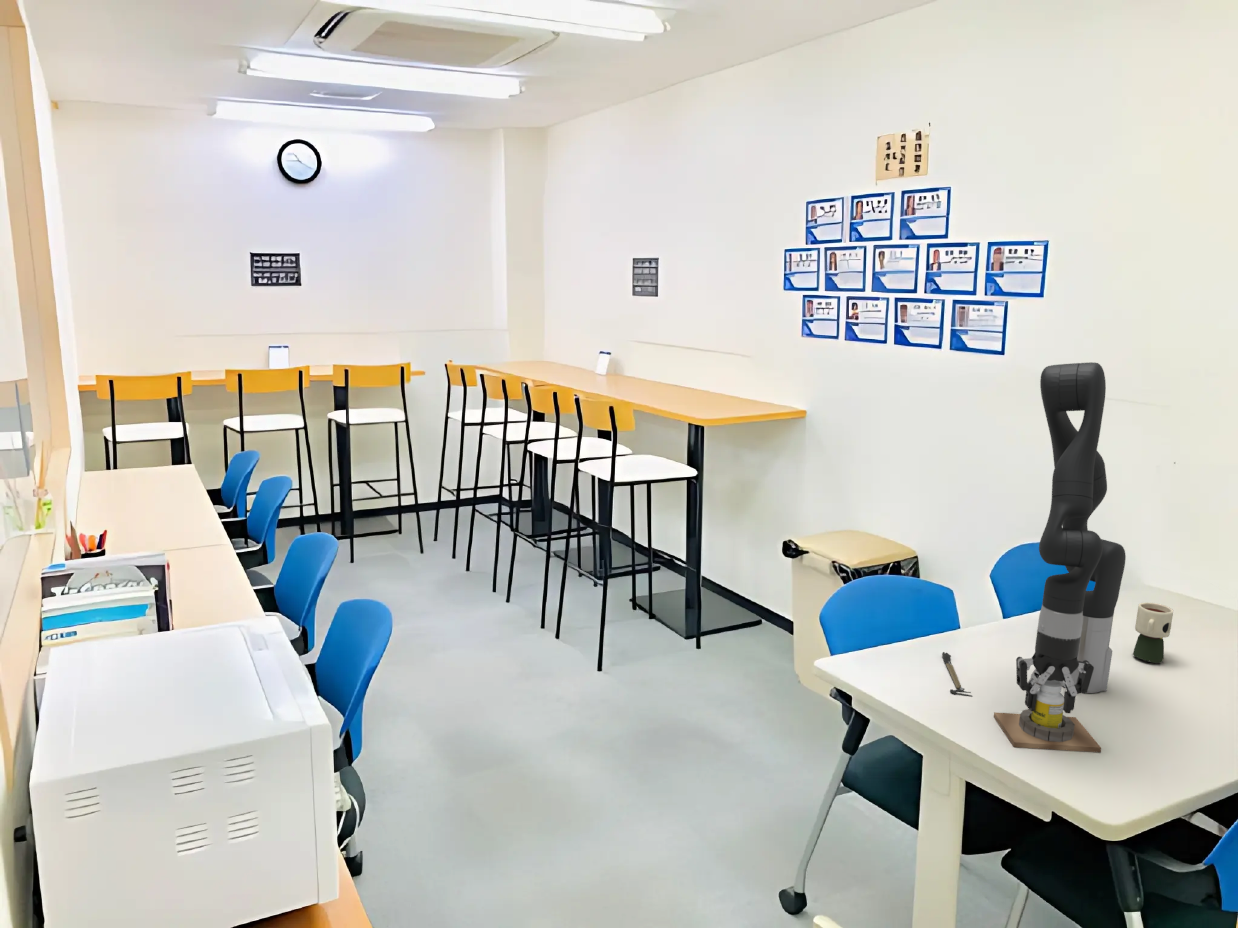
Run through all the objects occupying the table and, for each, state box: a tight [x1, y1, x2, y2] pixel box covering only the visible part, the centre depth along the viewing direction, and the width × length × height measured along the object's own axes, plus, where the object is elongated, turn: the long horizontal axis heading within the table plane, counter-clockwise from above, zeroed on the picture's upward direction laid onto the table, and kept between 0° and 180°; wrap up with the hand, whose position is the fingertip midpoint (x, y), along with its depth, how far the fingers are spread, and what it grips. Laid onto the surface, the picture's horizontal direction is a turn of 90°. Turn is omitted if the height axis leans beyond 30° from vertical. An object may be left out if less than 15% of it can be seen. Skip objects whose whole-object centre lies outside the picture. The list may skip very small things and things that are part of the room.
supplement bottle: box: [1031, 680, 1064, 728], centre depth 179 cm, size 5×5×10 cm
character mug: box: [1132, 602, 1174, 664], centre depth 215 cm, size 11×7×13 cm, turn 142°
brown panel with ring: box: [993, 708, 1102, 753], centre depth 180 cm, size 16×12×3 cm
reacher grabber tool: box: [941, 651, 974, 698], centre depth 206 cm, size 21×7×1 cm, turn 168°
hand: (1048, 710), depth 179 cm, fingers open, 6 cm apart
